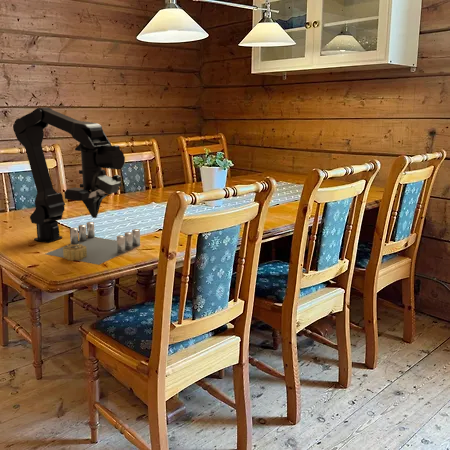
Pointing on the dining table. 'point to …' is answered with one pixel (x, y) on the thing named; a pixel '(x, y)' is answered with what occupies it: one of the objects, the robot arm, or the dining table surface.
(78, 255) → the tan lobed block
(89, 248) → the mat
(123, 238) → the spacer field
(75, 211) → the dining table surface
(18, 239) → the dining table surface
